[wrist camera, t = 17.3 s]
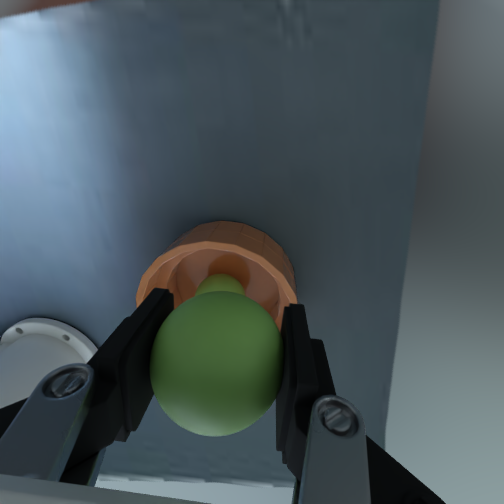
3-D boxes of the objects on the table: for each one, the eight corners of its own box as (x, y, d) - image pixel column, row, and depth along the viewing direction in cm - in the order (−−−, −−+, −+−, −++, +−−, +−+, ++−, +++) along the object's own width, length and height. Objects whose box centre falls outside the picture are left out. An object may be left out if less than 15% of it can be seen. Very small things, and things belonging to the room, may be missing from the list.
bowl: (166, 327, 30) (141, 368, 25) (162, 211, 25) (130, 231, 20) (284, 343, 30) (286, 390, 24) (305, 228, 24) (313, 254, 19)
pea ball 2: (177, 353, 13) (128, 460, 8) (175, 263, 11) (112, 340, 7) (276, 365, 12) (277, 481, 8) (290, 276, 11) (301, 364, 6)
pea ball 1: (205, 300, 28) (186, 329, 24) (205, 261, 26) (185, 286, 22) (248, 309, 27) (236, 341, 23) (252, 269, 25) (240, 297, 21)
